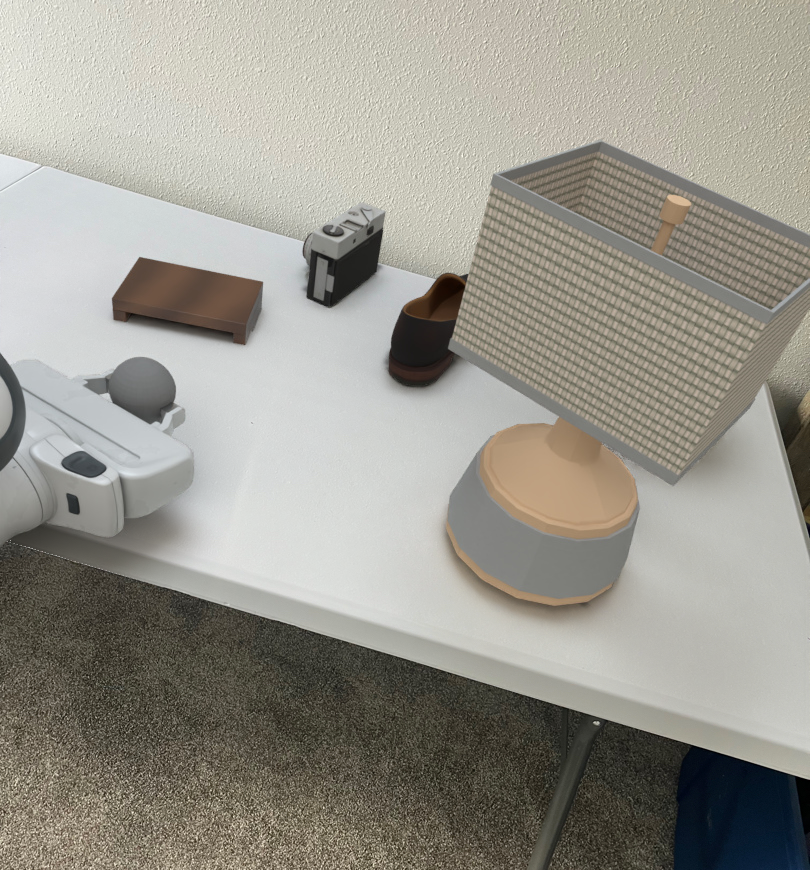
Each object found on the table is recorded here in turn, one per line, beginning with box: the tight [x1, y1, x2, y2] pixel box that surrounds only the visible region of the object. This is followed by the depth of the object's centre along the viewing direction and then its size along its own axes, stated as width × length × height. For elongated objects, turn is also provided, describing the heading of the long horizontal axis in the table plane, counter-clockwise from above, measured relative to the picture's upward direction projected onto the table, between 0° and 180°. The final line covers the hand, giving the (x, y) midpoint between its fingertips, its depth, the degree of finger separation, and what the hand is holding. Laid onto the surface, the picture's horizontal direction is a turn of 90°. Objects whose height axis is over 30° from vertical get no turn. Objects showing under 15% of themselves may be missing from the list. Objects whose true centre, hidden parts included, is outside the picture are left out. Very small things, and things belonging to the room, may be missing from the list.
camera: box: [301, 201, 387, 309], centre depth 110 cm, size 14×8×10 cm, turn 154°
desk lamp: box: [445, 139, 810, 607], centre depth 69 cm, size 22×19×37 cm
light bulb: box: [108, 356, 177, 425], centre depth 75 cm, size 6×6×10 cm
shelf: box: [111, 256, 264, 346], centre depth 99 cm, size 16×11×4 cm
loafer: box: [388, 272, 469, 387], centre depth 104 cm, size 10×28×10 cm, turn 154°
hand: (150, 394), depth 75 cm, fingers closed on light bulb, 6 cm apart
